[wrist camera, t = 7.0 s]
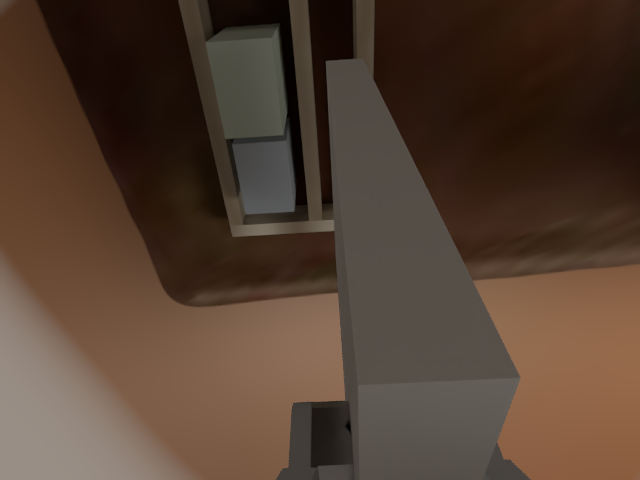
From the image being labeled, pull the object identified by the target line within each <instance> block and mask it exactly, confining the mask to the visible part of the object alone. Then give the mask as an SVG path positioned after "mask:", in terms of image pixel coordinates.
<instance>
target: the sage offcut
mask: <svg viewBox="0 0 640 480" xmlns="http://www.w3.org/2000/svg"><path fill="white" fill-rule="evenodd" d="M205 43H206V48H207V53H208V58H209V62H210V67H211V72H212V77H213V82H214V87H215V91H216V96H217V101H218V106H219V111H220V116H221V120H222V125H223V130H224V135H225V139H233V138H248V137H263V136H278V135H284V129H285V123H286V117H287V112H288V106H289V104H288V95H287V86H286V76H285V67H284V58H283V48H282V39H281V29H280V23H278V24H264V25H250V26H237V27H226V28H225V29H223V30H222V31H220V32H219V33H218V34H216V35H215V36H214V37H212V38H211V39H209V40H208V41H207V42H205Z"/></svg>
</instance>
